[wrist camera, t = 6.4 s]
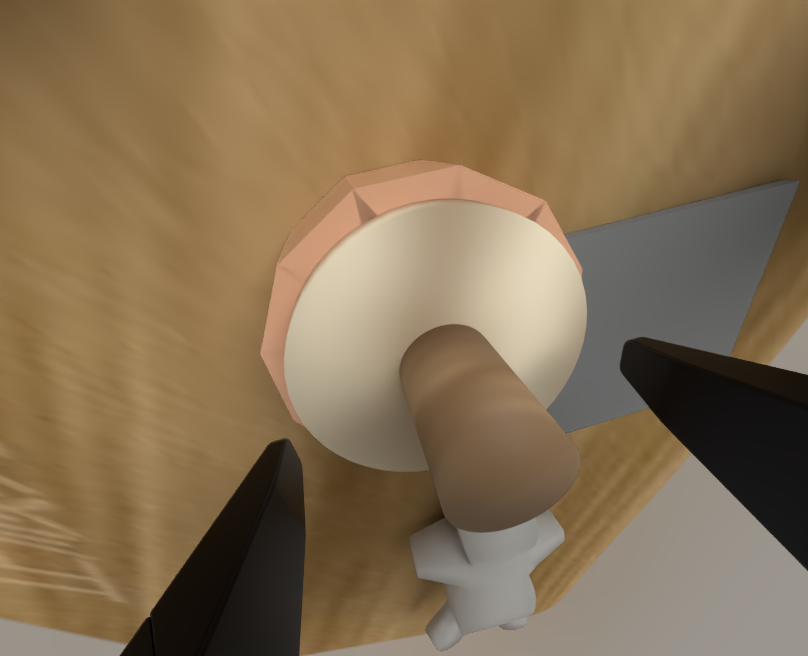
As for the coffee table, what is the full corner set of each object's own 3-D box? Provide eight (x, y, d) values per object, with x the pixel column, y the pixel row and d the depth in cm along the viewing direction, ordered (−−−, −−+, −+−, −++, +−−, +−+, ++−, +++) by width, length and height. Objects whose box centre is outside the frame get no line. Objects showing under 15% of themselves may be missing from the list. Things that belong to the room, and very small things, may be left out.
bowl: (517, 138, 12) (596, 134, 8) (518, 360, 17) (567, 414, 13) (236, 200, 11) (195, 223, 7) (326, 414, 16) (326, 487, 13)
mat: (783, 179, 15) (800, 180, 14) (708, 380, 21) (717, 386, 21) (539, 241, 14) (548, 244, 13) (534, 434, 20) (539, 441, 19)
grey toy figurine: (593, 501, 18) (556, 655, 23) (538, 437, 22) (518, 579, 28) (421, 541, 16) (426, 696, 22) (400, 463, 21) (409, 607, 26)
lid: (576, 163, 9) (825, 178, 4) (558, 409, 13) (671, 535, 9) (231, 246, 8) (116, 365, 4) (339, 477, 12) (346, 651, 8)
